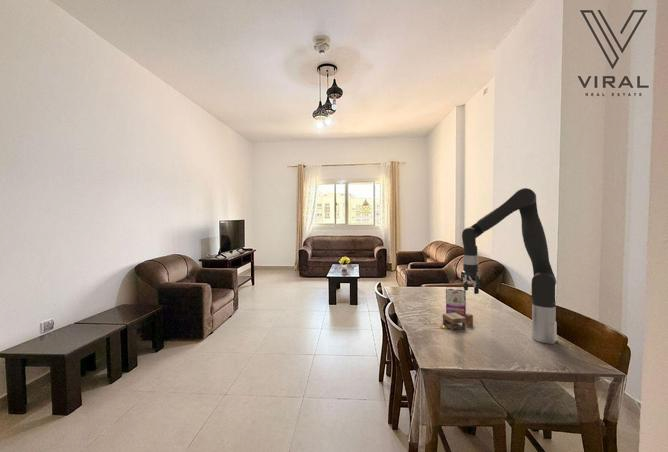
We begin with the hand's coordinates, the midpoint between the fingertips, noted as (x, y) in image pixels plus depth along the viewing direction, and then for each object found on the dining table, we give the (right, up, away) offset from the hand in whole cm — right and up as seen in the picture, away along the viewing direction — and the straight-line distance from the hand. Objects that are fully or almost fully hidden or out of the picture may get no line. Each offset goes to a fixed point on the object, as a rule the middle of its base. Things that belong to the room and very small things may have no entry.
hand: (471, 291), depth 160 cm
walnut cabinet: (-10, -19, -1) cm, 21 cm away
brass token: (-16, -19, -2) cm, 25 cm away
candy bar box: (-1, -18, +18) cm, 26 cm away
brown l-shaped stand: (-7, -19, -1) cm, 20 cm away
